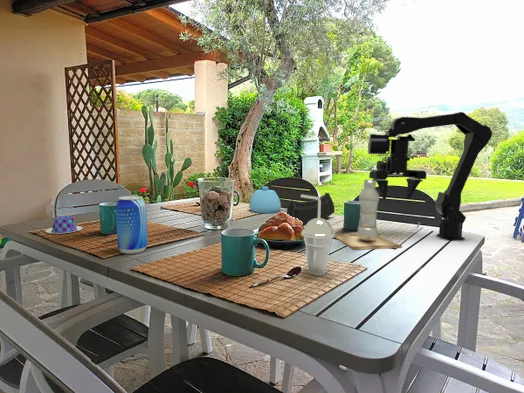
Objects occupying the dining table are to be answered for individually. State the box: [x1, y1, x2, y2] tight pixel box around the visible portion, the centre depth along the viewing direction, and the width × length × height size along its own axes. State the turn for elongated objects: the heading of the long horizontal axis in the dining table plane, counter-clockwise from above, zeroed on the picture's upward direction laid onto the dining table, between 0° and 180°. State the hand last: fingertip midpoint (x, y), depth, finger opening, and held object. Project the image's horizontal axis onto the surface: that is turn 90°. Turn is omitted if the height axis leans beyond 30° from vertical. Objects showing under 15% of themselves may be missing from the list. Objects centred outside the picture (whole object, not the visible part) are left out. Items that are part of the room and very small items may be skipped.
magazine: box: [286, 192, 335, 226], centre depth 153 cm, size 17×3×30 cm
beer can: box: [115, 195, 148, 255], centre depth 112 cm, size 8×8×16 cm
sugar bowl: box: [248, 186, 282, 214], centre depth 179 cm, size 15×15×12 cm
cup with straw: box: [299, 194, 337, 276], centre depth 94 cm, size 8×9×20 cm
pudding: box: [45, 215, 83, 235], centre depth 136 cm, size 12×12×5 cm
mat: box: [334, 233, 403, 251], centre depth 125 cm, size 16×16×1 cm
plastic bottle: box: [356, 179, 380, 241], centre depth 123 cm, size 6×7×20 cm
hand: (396, 199), depth 132 cm, fingers open, 9 cm apart
